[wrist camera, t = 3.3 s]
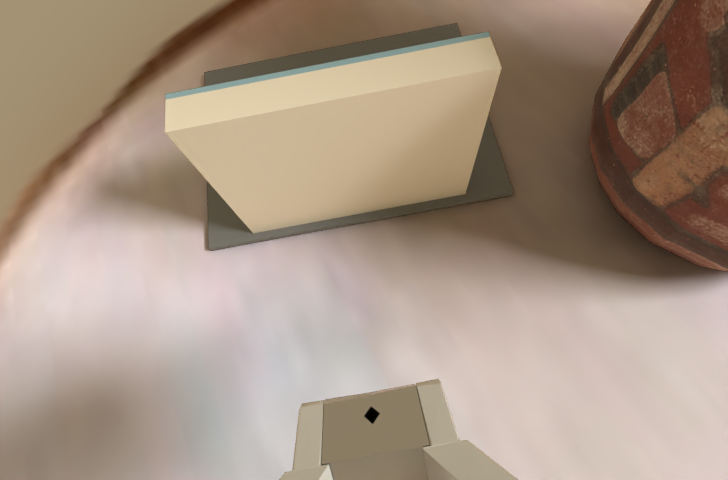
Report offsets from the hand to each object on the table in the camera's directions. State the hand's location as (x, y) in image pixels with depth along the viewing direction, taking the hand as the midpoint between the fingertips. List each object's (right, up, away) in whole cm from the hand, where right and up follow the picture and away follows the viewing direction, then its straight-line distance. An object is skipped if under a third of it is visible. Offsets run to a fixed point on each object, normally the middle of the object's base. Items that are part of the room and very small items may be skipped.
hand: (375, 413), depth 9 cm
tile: (-1, +6, +19) cm, 20 cm away
